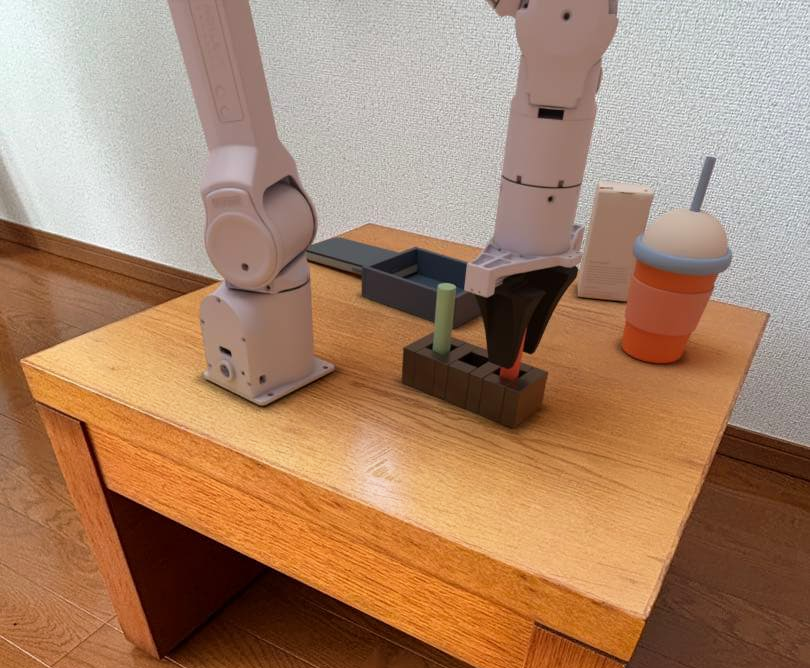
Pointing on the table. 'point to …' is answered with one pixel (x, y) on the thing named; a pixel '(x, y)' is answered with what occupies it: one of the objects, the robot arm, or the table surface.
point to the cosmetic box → (613, 239)
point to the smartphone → (352, 256)
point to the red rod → (514, 371)
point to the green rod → (444, 318)
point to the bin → (419, 284)
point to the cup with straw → (674, 278)
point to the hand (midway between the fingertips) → (512, 357)
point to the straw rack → (473, 380)
